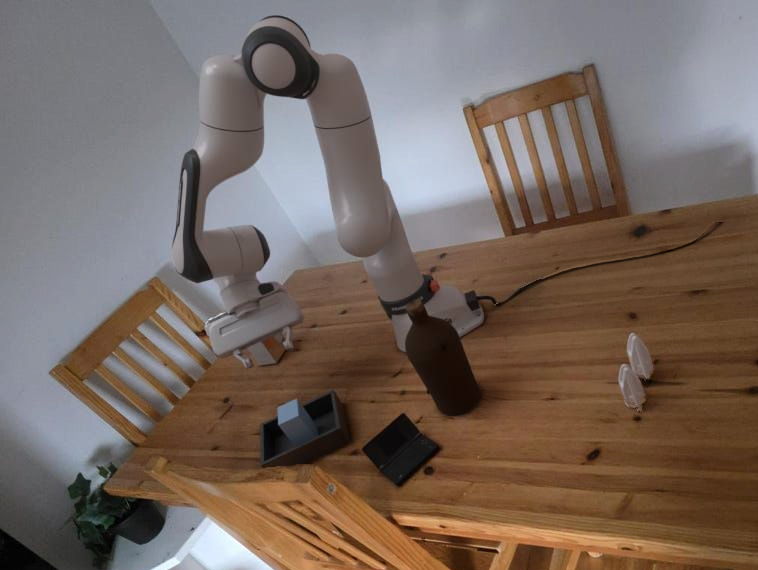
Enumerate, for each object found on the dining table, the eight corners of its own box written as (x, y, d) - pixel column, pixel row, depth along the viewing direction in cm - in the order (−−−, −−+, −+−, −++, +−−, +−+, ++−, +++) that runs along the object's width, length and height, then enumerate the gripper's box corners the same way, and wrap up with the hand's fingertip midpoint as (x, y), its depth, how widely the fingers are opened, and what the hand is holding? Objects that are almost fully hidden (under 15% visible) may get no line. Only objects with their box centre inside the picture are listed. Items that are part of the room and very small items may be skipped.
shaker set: (636, 364, 115) (626, 320, 108) (658, 365, 113) (650, 320, 106) (620, 410, 107) (608, 365, 101) (643, 412, 105) (633, 367, 99)
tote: (343, 404, 135) (333, 389, 132) (350, 443, 124) (340, 427, 121) (271, 438, 134) (259, 424, 131) (273, 480, 123) (260, 465, 120)
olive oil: (490, 382, 124) (449, 285, 109) (472, 420, 118) (425, 322, 103) (447, 380, 129) (401, 288, 114) (427, 417, 123) (376, 323, 107)
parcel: (317, 426, 131) (296, 398, 126) (319, 444, 127) (298, 415, 121) (298, 435, 131) (277, 407, 126) (300, 453, 126) (278, 425, 121)
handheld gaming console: (403, 484, 108) (367, 442, 108) (390, 491, 114) (356, 451, 114) (444, 445, 115) (411, 405, 114) (430, 453, 121) (398, 415, 120)
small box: (277, 364, 157) (255, 333, 151) (260, 366, 159) (238, 336, 153) (289, 344, 163) (269, 314, 157) (273, 346, 165) (252, 317, 159)
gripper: (194, 318, 127) (219, 377, 125) (283, 278, 128) (308, 335, 126) (208, 324, 133) (231, 380, 132) (292, 286, 134) (316, 341, 133)
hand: (270, 358), depth 129 cm, fingers open, 8 cm apart
